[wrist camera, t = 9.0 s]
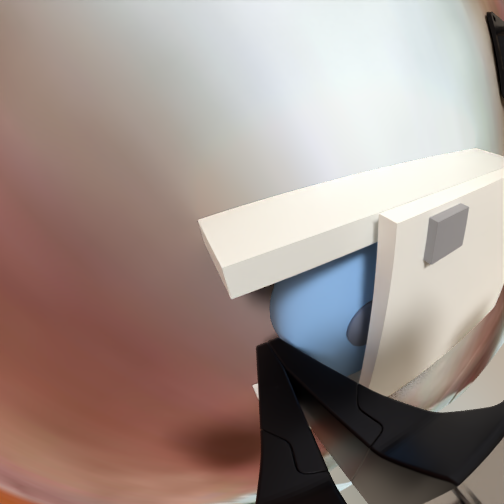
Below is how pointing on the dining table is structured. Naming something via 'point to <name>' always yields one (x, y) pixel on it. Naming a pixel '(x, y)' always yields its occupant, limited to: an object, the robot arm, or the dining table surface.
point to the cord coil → (328, 309)
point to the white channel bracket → (325, 219)
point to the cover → (433, 278)
